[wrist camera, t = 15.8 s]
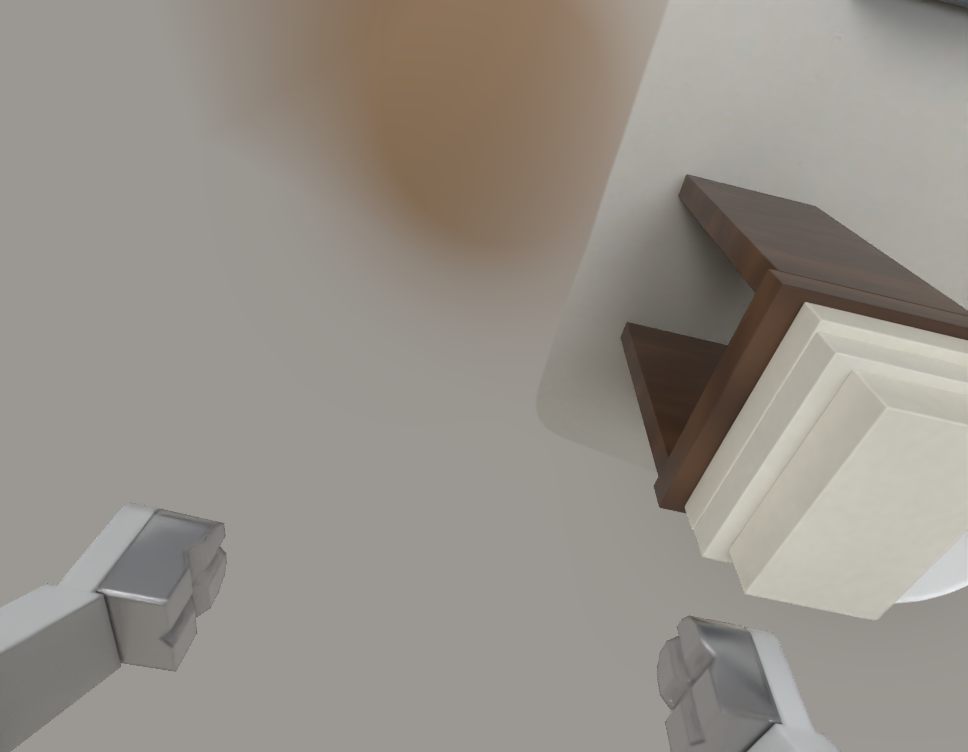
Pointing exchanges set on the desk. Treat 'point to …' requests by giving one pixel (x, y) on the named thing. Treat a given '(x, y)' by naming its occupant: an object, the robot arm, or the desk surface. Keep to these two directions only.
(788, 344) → the white books
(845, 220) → the desk surface
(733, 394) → the walnut shelf
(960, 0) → the grey books
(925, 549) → the ivory book
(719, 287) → the desk surface
